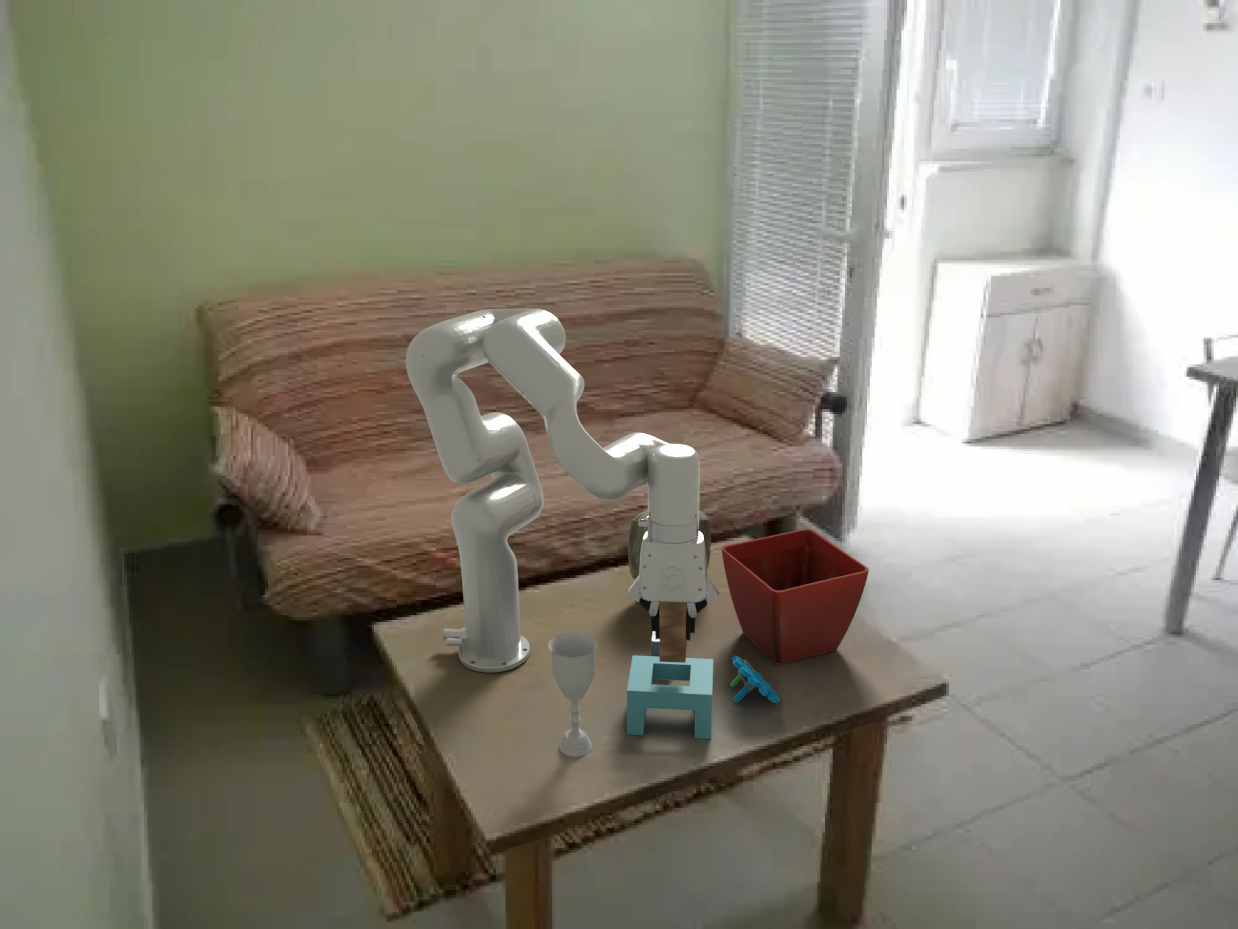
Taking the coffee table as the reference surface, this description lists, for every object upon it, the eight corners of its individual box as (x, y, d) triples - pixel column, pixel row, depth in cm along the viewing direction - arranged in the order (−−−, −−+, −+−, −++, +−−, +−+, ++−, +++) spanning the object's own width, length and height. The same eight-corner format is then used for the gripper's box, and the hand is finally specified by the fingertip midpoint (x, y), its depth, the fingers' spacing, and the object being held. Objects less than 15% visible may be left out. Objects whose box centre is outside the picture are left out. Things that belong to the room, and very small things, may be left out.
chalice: (547, 757, 156) (543, 654, 149) (557, 730, 162) (554, 630, 155) (594, 762, 154) (592, 659, 148) (603, 735, 161) (601, 634, 154)
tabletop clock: (679, 576, 210) (681, 461, 201) (712, 591, 204) (716, 474, 194) (628, 600, 201) (627, 481, 191) (661, 617, 194) (662, 495, 185)
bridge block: (627, 734, 161) (627, 690, 158) (632, 697, 170) (632, 655, 167) (710, 738, 160) (712, 694, 157) (711, 701, 169) (713, 659, 166)
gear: (790, 706, 165) (747, 669, 162) (764, 733, 165) (721, 696, 162) (770, 677, 175) (729, 641, 173) (746, 701, 176) (705, 667, 173)
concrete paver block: (651, 671, 177) (651, 641, 175) (652, 659, 181) (652, 629, 179) (674, 672, 177) (674, 642, 175) (675, 660, 181) (676, 630, 178)
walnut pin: (659, 661, 159) (659, 592, 154) (661, 648, 163) (660, 580, 158) (685, 662, 158) (686, 593, 154) (686, 649, 162) (687, 580, 158)
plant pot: (716, 627, 191) (719, 545, 185) (804, 606, 198) (810, 526, 192) (770, 680, 175) (775, 592, 168) (864, 656, 181) (872, 570, 175)
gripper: (614, 536, 150) (616, 646, 157) (730, 539, 148) (727, 650, 155) (619, 515, 157) (621, 621, 163) (730, 518, 155) (727, 625, 162)
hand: (673, 634), depth 159 cm, fingers closed on walnut pin, 4 cm apart
